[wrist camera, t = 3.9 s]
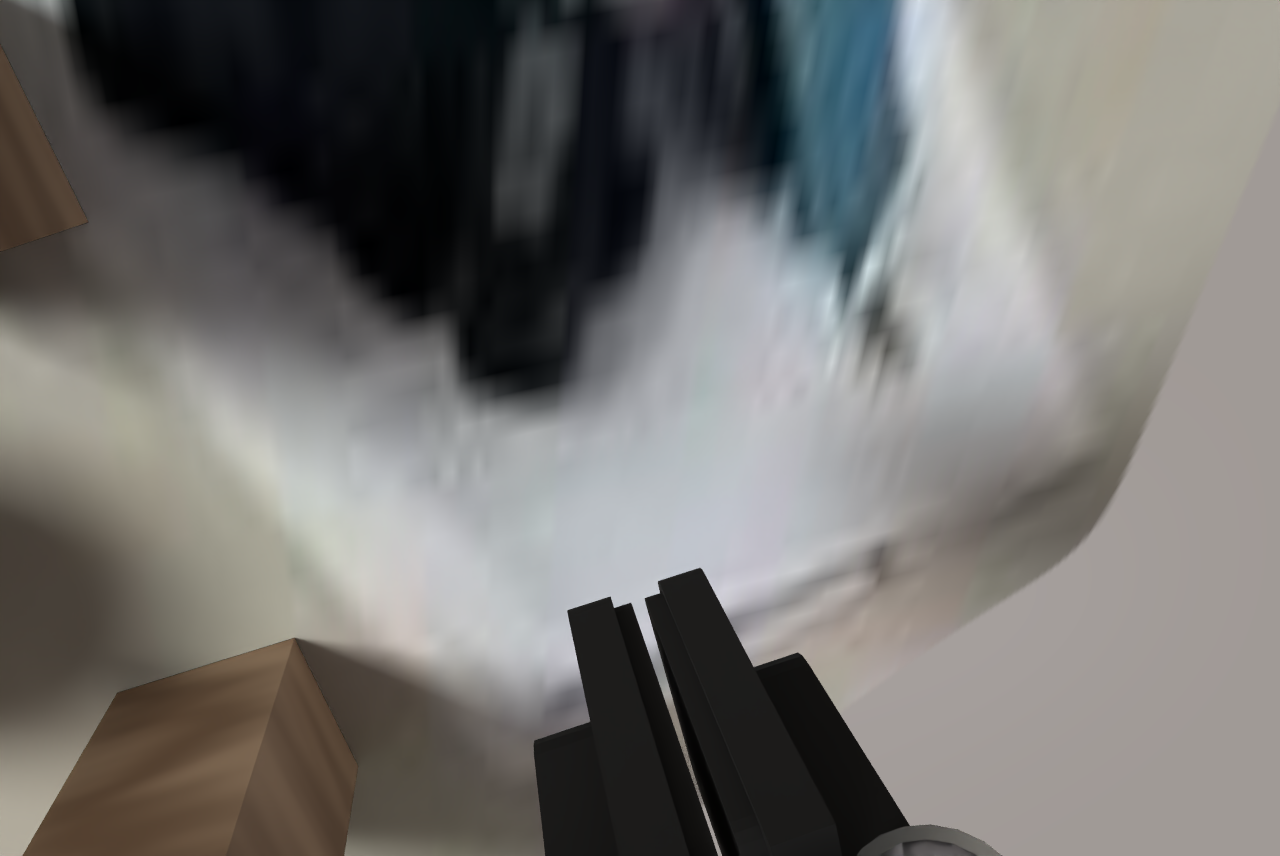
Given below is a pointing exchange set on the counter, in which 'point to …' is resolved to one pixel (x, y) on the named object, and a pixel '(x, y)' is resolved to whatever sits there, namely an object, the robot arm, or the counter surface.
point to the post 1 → (29, 172)
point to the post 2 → (210, 768)
